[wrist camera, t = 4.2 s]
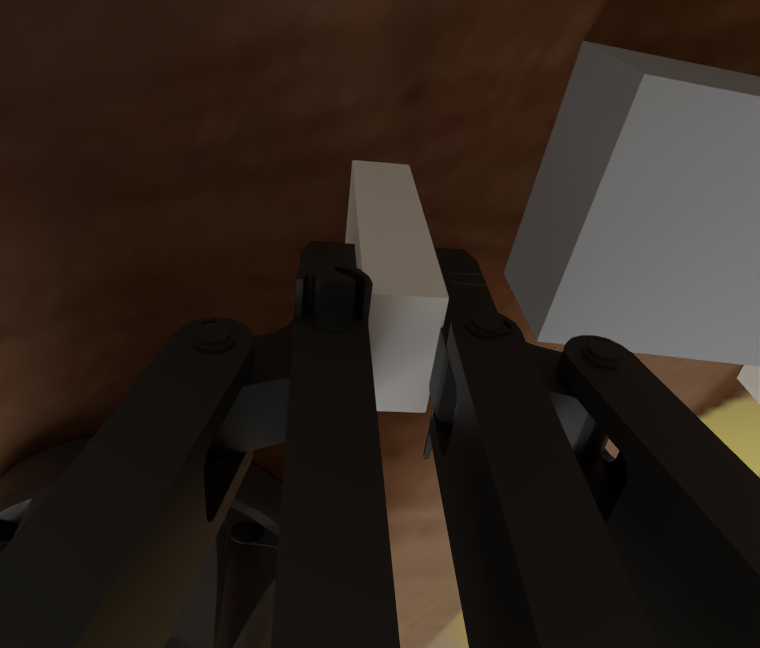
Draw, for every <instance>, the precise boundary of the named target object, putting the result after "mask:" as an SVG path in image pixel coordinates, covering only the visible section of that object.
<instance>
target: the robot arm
mask: <svg viewBox="0 0 760 648" xmlns="http://www.w3.org/2000/svg"><path fill="white" fill-rule="evenodd" d="M429 394H430V396H431V401H432V406H433V411H432V415H431V420H430V425H429V430H428V434H427V439H426V444H425V449H424V457H423V459H429V456H430V451H431V449H433V454H434V460H435V465H436V471H437V476H438V481H439V487H440V492H441V498H442V503H443V509H444V514H445V519H446V525H447V530H448V536H449V541H450V547H451V552H452V557H453V563H454V568H455V574H456V579H457V585H458V590H459V595H460V601H461V606H462V612H463V617H464V622H465V628H466V633H467V639H468V644H469V648H760V478H759V477H758V476H757V475H756V474H755V473H754V472H753V471H752V470H751V469H750V468H749V467H748V466H747V465H746V464H745V463H744V462H743V461H742V460H741V459H740V458H739V457H738V456H737V455H736V454H735V453H733V451H732V450H730V449H729V448H728V447H727V446H726V445H725V444H724V443H723V442H722V441H721V440H720V439H719V438H718V437H717V436H716V435H715V434H714V433H713V432H712V431H711V430H710V429H709V428H708V427H707V426H706V425H705V424H704V423H703V422H702V421H701V420H700V419H699V418H698V417H697V416H696V415H695V414H694V413H693V412H692V411H691V410H690V409H689V408H688V407H687V406H686V405H685V404H684V403H683V402H682V401H681V400H680V399H679V398H678V397H677V396H675V395H674V394H673V393H672V392H671V391H670V390H669V389H668V388H667V387H666V386H665V385H664V384H663V383H662V382H661V381H660V380H659V379H658V378H657V377H656V376H655V375H654V374H653V373H652V372H651V371H650V370H649V369H648V368H647V367H646V366H645V365H644V364H643V363H642V362H641V361H640V360H639V359H638V358H637V357H636V356H635V355H634V354H633V353H632V352H630V351H629V350H628V349H626V348H625V347H624V346H622V345H621V344H618V343H616V342H614V341H612V340H610V339H608V338H605V337H601V336H595V335H580V336H576V337H573V338H571V339H570V340H569V341H568V342H567V343H566V344H565V347H564V349H563V352H559V351H555V350H551V349H547V348H543V347H539V346H536V345H533V344H529V343H527V342H526V341H525V339H524V337H523V334H522V332H521V330H520V329H519V327H518V326H517V325H516V323H515V322H513V321H512V320H510V319H509V318H507V317H506V316H504V315H501V314H499V313H498V312H497V310H496V307H495V305H494V302H493V300H492V297H491V295H490V292H489V290H488V287H487V286H486V282H485V280H484V277H483V276H482V272H481V270H480V268H479V265H478V263H477V261H476V260H475V259H474V258H473V257H472V256H471V255H469V254H468V253H467V252H466V251H465V250H462V249H447V248H434V246H433V243H432V239H431V236H430V233H429V229H428V226H427V223H426V219H425V216H424V213H423V209H422V206H421V203H420V199H419V196H418V193H417V189H416V186H415V183H414V179H413V176H412V172H411V169H410V166H409V165H406V164H394V163H382V162H370V161H358V160H352V170H351V181H350V193H349V204H348V216H347V227H346V238H345V243H335V242H320V241H310V242H309V243H308V244H307V245H306V246H305V247H304V248H303V249H302V250H301V254H300V267H299V274H298V276H297V279H296V297H295V317H294V319H293V320H292V321H291V323H290V324H289V325H287V326H286V327H284V328H283V329H281V330H278V331H276V332H273V333H269V334H265V335H259V336H253V335H252V333H251V331H250V329H248V328H247V327H246V326H244V325H243V324H242V323H240V322H237V321H234V320H231V319H226V318H206V319H199V320H196V321H193V322H191V323H188V324H186V325H184V326H183V327H182V328H180V329H179V330H178V331H177V332H176V333H175V334H174V335H173V336H172V338H171V339H170V340H169V341H168V343H167V344H166V345H165V346H164V348H163V349H162V350H161V352H160V353H159V354H158V355H157V357H156V358H155V359H154V360H153V362H152V363H151V364H150V365H149V367H148V368H147V369H146V370H145V372H144V373H143V374H142V375H141V377H140V378H139V379H138V380H137V382H136V383H135V384H134V386H133V387H132V388H131V389H130V391H129V392H128V393H127V394H126V396H125V397H124V398H123V399H122V401H121V402H120V403H119V404H118V406H117V407H116V408H115V409H114V411H113V412H112V413H111V414H110V416H109V417H108V418H107V420H106V421H105V422H104V423H103V425H102V426H101V427H100V428H99V430H98V431H97V432H96V433H95V435H94V436H93V437H91V438H85V439H79V440H75V441H71V442H67V443H63V444H60V445H57V446H54V447H51V448H48V449H46V450H43V451H41V452H39V453H36V454H34V455H32V456H30V457H28V458H27V459H25V460H23V461H21V462H20V463H18V464H17V465H15V466H14V467H13V468H11V469H10V470H9V471H8V472H6V473H5V474H4V475H3V476H2V477H1V478H0V648H400V641H399V631H398V621H397V611H396V601H395V590H394V580H393V570H392V560H391V550H390V540H389V529H388V519H387V509H386V499H385V489H384V479H383V468H382V458H381V448H380V438H379V428H378V417H377V411H390V412H418V413H426V409H427V404H428V399H429ZM608 439H610V440H611V441H612V442H613V444H614V445H615V446H616V447H617V448H618V450H619V453H618V456H617V457H616V459H614V458H613V457H612V456H611V455H610V454H609V453H608V452H607V450H606V449H605V446H606V444H607V441H608ZM285 442H286V443H285ZM281 443H285V457H284V471H283V484H281V483H279V482H278V481H277V480H276V479H275V478H273V477H272V476H271V475H269V474H268V473H266V472H265V471H263V470H262V469H260V468H258V467H257V466H255V465H253V464H252V463H251V461H252V458H253V453H254V450H255V449H259V448H263V447H268V446H272V445H277V444H281Z"/></svg>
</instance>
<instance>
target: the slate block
mask: <svg viewBox="0 0 760 648" xmlns="http://www.w3.org/2000/svg"><path fill="white" fill-rule="evenodd" d="M504 275H505V278H506V280H507V282H508V284H509V286H510V288H511V290H512V292H513V294H514V296H515V298H516V300H517V302H518V304H519V306H520V308H521V310H522V312H523V314H524V316H525V318H526V320H527V322H528V325H529V327H530V329H531V331H532V333H533V335H534V337H535V339H536V341H537V342H546V343H555V344H564V345H565V344H566V343H567V342H568V341H569V340H570V339H571V338H573V337H576V336H580V335H595V336H601V337H605V338H608V339H610V340H612V341H614V342H616V343H618V344H621V345H622V346H624V347H625V348H626V349H628V350H629V351H630V352H635V353H644V354H653V355H662V356H671V357H680V358H688V359H697V360H706V361H715V362H724V363H733V364H742V365H751V366H760V76H755V75H750V74H745V73H740V72H735V71H731V70H726V69H721V68H716V67H711V66H706V65H701V64H696V63H691V62H686V61H681V60H676V59H671V58H667V57H662V56H657V55H652V54H647V53H642V52H637V51H632V50H627V49H622V48H617V47H612V46H607V45H603V44H598V43H593V42H588V41H583V42H582V45H581V48H580V51H579V53H578V56H577V59H576V62H575V65H574V68H573V71H572V74H571V77H570V80H569V83H568V86H567V89H566V92H565V95H564V97H563V100H562V103H561V106H560V109H559V112H558V115H557V118H556V121H555V124H554V127H553V130H552V133H551V136H550V139H549V141H548V144H547V147H546V150H545V153H544V156H543V159H542V162H541V165H540V168H539V171H538V174H537V177H536V180H535V183H534V185H533V188H532V191H531V194H530V197H529V200H528V203H527V206H526V209H525V212H524V215H523V218H522V221H521V224H520V227H519V229H518V232H517V235H516V238H515V241H514V244H513V247H512V250H511V253H510V256H509V259H508V262H507V265H506V268H505V271H504Z"/></svg>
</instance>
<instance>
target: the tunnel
mask: <svg viewBox="0 0 760 648" xmlns="http://www.w3.org/2000/svg"><path fill="white" fill-rule="evenodd" d="M737 379H738V380H739V381H740V382H741V383H742V385H743V386H744V387H745V388H746V389H747V390H748V391H749V393H750V394H751V395H752V396H753V397H754V398H755V400H756V401H757V402H758V403H759V404H760V366H751V365H744V366H743V367H742V369H741V371H740V373H739V375H738V377H737Z"/></svg>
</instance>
